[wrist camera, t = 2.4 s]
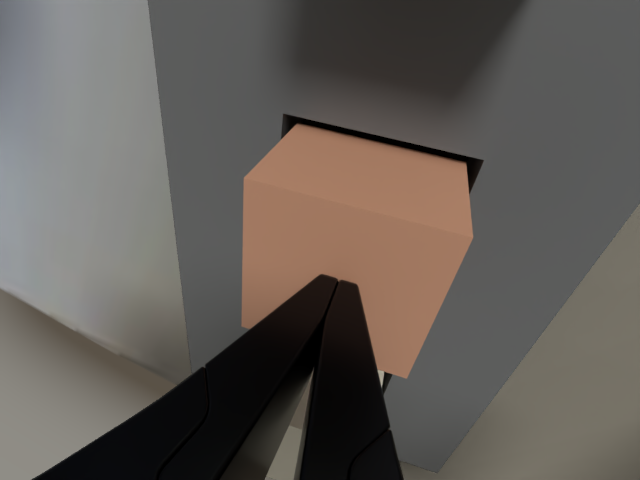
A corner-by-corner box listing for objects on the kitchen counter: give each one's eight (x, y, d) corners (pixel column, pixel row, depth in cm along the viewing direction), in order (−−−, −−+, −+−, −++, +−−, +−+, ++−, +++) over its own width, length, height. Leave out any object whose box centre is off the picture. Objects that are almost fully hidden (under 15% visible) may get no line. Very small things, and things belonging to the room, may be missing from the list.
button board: (1107, -598, 4) (1480, -918, 3) (438, 431, 19) (437, 473, 17) (160, -576, 6) (57, -772, 4) (213, 356, 20) (193, 389, 19)
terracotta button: (466, 161, 10) (473, 237, 7) (415, 288, 12) (406, 378, 9) (297, 122, 10) (243, 178, 7) (284, 251, 13) (241, 326, 10)
